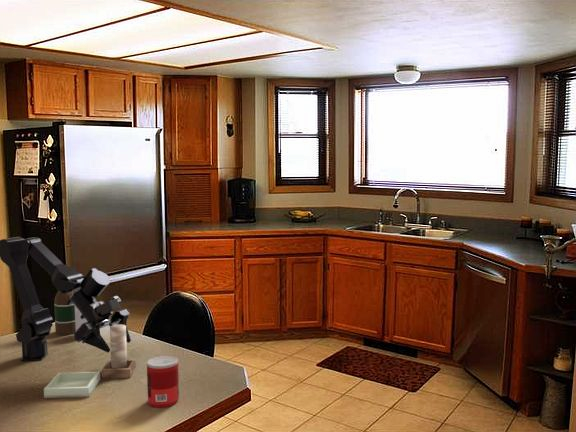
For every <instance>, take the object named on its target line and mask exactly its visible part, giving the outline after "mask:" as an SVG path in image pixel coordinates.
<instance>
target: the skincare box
mask: <svg viewBox="0 0 576 432" xmlns="http://www.w3.org/2000/svg"><path fill="white" fill-rule="evenodd" d="M81 315H82V314H81V312H80V311H79V310H78V309H77V307H76V306H75V324H76V331H77V330H78V328H79V327H80V326H81V325H82V324H83V323H86V322H87V320H86V319H81V318H80V316H81Z"/></svg>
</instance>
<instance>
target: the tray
mask: <svg viewBox="0 0 576 432" xmlns="http://www.w3.org/2000/svg"><path fill="white" fill-rule="evenodd" d="M100 381H101V371H73V372H72V371H71V372H70V371H69V372H68V371H67V372H66V371H64V372H58V373H57V374H56V375H55V376H54V377H53V378H52V379H51V381H49V383H48V384H47V385H45V387H43V397H44V398H43V399H61V398H62V399H63V398H64V399H65V398H67V399H68V398H89V397H90V396H91V395H92V393H93V392H94V390H96V387H97V386H98V385H99V383H100Z"/></svg>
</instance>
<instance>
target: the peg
mask: <svg viewBox="0 0 576 432" xmlns="http://www.w3.org/2000/svg"><path fill="white" fill-rule="evenodd" d="M126 325H127V324H126ZM126 325H122V324H119V325H113V326H111V327H110V326H109V335H110V339H109V340H110V360H111V369H120V368H127V360H128V352H127V351H128V347H127V346H128V345H127V343H128V342H126Z"/></svg>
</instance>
